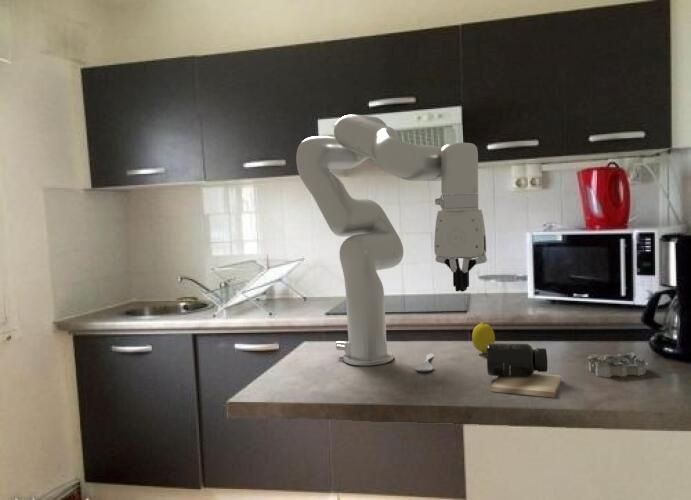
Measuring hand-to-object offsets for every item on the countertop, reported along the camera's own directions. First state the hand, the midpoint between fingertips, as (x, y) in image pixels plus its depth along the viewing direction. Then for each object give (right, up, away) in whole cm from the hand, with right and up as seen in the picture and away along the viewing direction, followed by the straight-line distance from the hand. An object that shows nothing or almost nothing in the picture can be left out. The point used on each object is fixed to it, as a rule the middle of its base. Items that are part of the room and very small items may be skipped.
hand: (461, 290), depth 118 cm
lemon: (+10, -18, +22) cm, 30 cm away
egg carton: (+34, -18, +2) cm, 38 cm away
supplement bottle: (+5, -15, +1) cm, 16 cm away
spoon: (-4, -19, +17) cm, 26 cm away
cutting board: (+12, -19, -4) cm, 23 cm away
